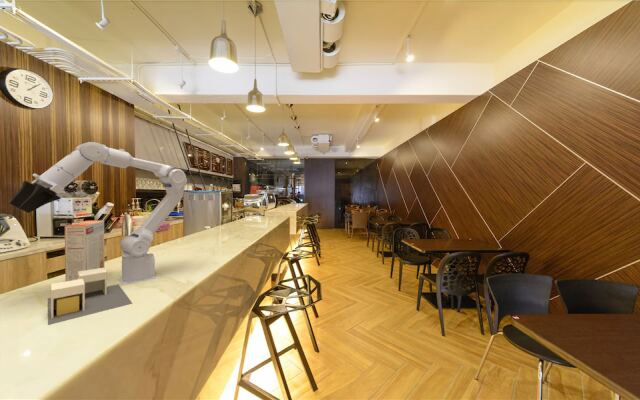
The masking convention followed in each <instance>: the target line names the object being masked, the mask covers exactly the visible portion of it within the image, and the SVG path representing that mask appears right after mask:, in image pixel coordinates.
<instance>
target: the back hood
mask: <svg viewBox="0 0 640 400" xmlns="http://www.w3.org/2000/svg"><path fill="white" fill-rule="evenodd" d="M107 274H108V273H107V269H106V268H105V267H104V268H98V269H91V270H85V271H78V279H83V281H84V284H85V293H89V292H94V291H99V290H103V292H104V294H105V295H107V284H108V283H107V279H108V278H107V277H108V275H107Z"/></svg>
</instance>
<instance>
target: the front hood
mask: <svg viewBox="0 0 640 400" xmlns="http://www.w3.org/2000/svg"><path fill="white" fill-rule="evenodd" d="M75 294H79V305H80V304H81V307H82V310H83V311H85V284H84V281H83V279H78V280H72V281H66V280H65V281H61V282H60V281H59V282H55V283H50V298H51V319H52V318H53V310H56V298H60V297H65V296H70V295H75Z"/></svg>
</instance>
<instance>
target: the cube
mask: <svg viewBox="0 0 640 400" xmlns="http://www.w3.org/2000/svg"><path fill="white" fill-rule="evenodd" d="M75 311H79V294H75V295H70V296H65V297H60V298H56V312H57V316H59V315H63V314H67V313H71V312H75Z"/></svg>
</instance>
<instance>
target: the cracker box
mask: <svg viewBox="0 0 640 400" xmlns="http://www.w3.org/2000/svg"><path fill="white" fill-rule="evenodd" d="M64 259H65V262H64V265H65V266H64V268H65V271H64V272H65V273H64V274H65V278H64V279H65V282H66V281H72V280H78V271H85V270H91V269H98V268H104V269H105V220H85V221H80V222H76V223H72V224H67V225H65V226H64Z"/></svg>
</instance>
